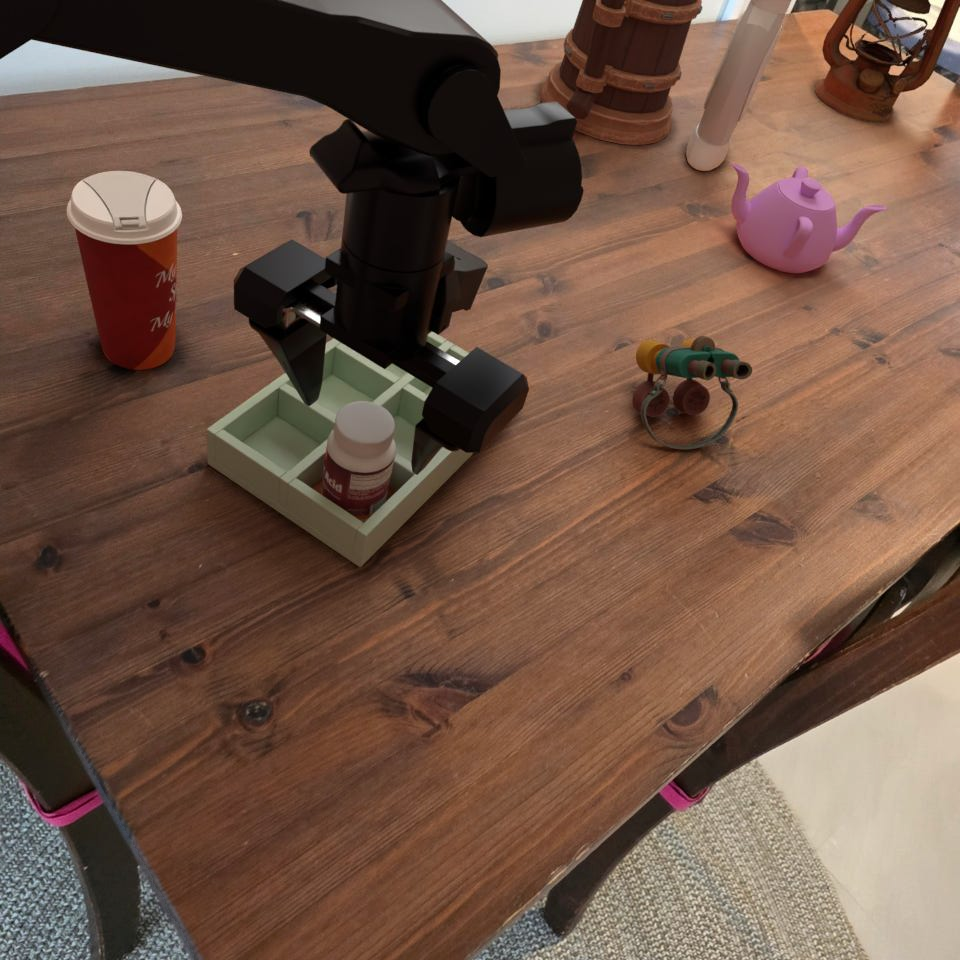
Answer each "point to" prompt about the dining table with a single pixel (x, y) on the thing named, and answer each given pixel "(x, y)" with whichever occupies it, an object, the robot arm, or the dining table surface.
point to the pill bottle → (359, 459)
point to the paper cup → (129, 263)
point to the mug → (622, 68)
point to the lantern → (880, 60)
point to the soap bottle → (736, 81)
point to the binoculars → (689, 395)
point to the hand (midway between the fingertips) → (364, 435)
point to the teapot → (792, 222)
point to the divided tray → (302, 447)
